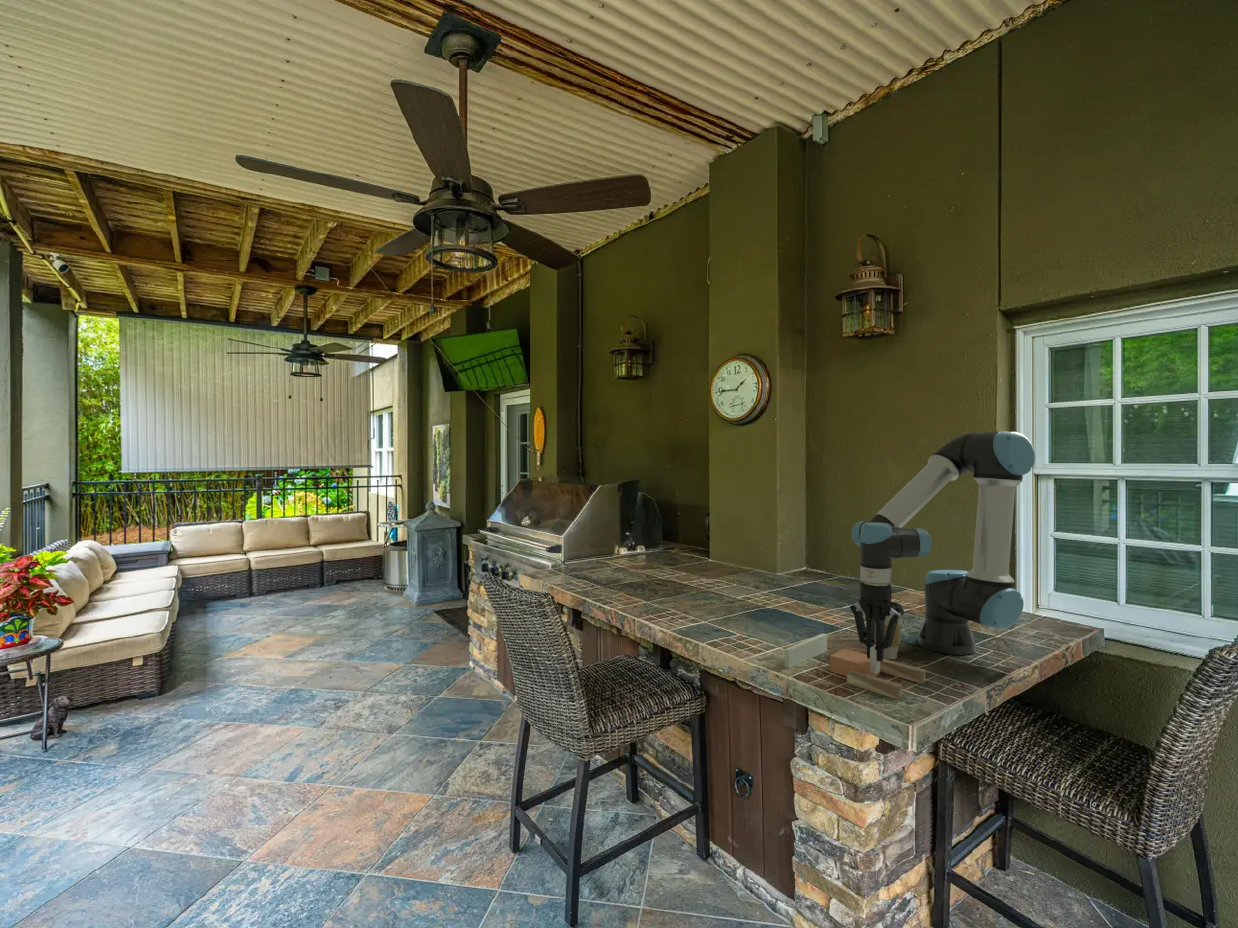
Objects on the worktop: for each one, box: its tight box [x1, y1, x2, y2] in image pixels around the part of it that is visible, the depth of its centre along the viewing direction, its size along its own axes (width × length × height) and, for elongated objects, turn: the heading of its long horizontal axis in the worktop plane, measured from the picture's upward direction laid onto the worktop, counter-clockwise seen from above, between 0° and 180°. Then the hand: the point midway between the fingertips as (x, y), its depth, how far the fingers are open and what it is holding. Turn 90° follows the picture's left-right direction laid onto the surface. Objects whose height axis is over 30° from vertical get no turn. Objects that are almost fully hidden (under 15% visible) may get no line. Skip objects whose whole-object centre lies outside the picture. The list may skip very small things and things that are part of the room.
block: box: [829, 648, 881, 677], centre depth 162 cm, size 8×10×4 cm
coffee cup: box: [874, 601, 905, 660], centre depth 174 cm, size 10×10×15 cm
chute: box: [846, 659, 926, 700], centre depth 155 cm, size 16×13×3 cm
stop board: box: [784, 632, 828, 669], centre depth 172 cm, size 20×1×5 cm, turn 132°
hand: (875, 671), depth 157 cm, fingers closed
